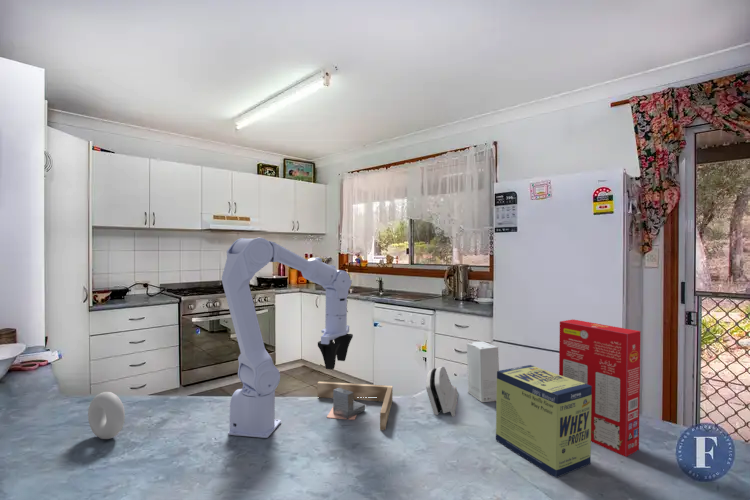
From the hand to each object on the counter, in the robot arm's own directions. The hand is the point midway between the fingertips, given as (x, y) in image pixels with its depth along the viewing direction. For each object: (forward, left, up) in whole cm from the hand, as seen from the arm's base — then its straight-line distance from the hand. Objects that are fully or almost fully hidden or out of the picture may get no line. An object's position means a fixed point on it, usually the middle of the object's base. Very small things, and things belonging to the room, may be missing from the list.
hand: (335, 364), depth 102 cm
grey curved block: (+28, +5, -11) cm, 31 cm away
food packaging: (+62, -9, -11) cm, 64 cm away
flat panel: (+4, -5, -10) cm, 12 cm away
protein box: (+48, -17, -11) cm, 52 cm away
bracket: (+5, -5, -10) cm, 12 cm away
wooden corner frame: (+4, -5, -10) cm, 12 cm away
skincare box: (+40, +11, -11) cm, 43 cm away
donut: (-45, -26, -11) cm, 53 cm away
